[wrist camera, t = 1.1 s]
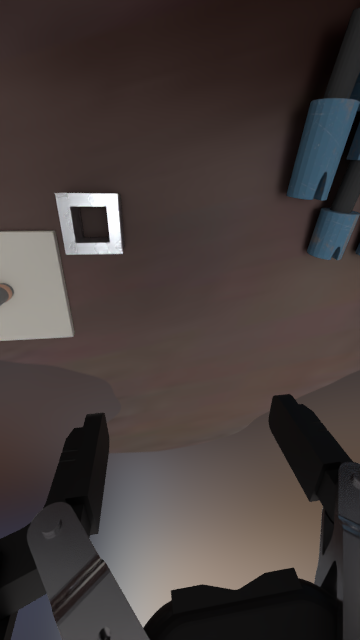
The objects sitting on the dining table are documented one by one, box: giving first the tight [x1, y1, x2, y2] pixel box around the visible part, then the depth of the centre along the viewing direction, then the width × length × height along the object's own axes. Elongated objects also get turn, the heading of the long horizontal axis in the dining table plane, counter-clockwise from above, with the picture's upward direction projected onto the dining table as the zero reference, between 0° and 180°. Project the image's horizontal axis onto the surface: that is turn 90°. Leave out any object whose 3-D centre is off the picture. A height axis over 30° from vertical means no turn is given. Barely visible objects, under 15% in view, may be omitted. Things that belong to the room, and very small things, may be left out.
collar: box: [55, 193, 125, 255], centre depth 29 cm, size 6×6×4 cm
